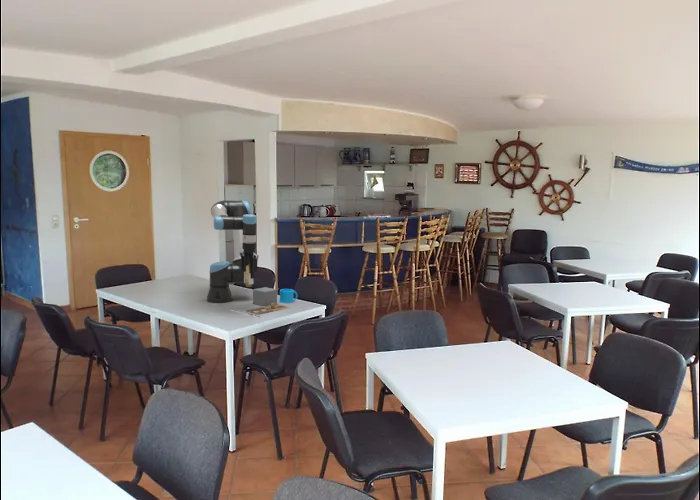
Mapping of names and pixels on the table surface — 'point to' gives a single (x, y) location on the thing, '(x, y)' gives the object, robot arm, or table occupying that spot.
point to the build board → (259, 310)
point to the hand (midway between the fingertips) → (248, 283)
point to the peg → (247, 276)
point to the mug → (287, 295)
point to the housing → (264, 296)
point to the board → (276, 307)
